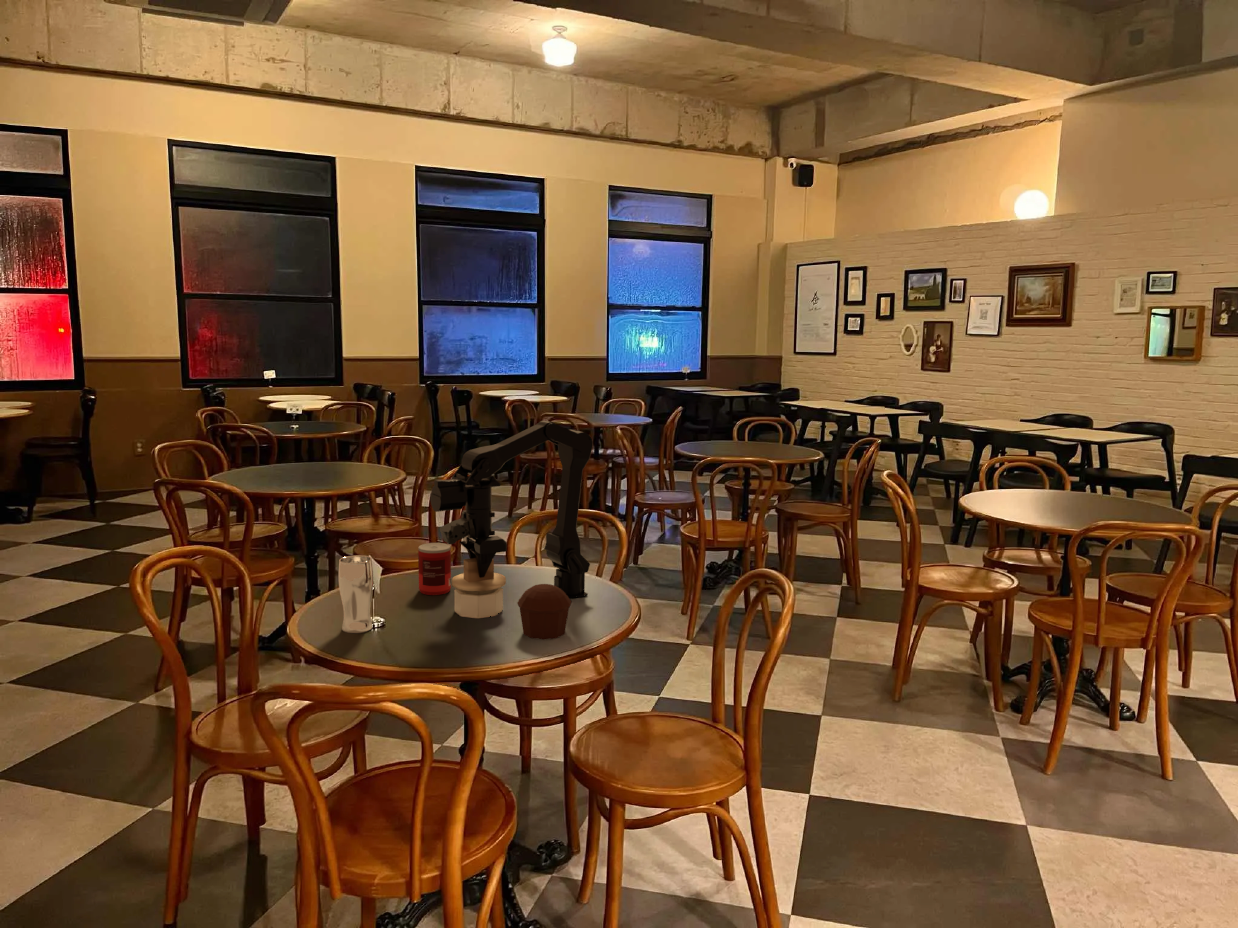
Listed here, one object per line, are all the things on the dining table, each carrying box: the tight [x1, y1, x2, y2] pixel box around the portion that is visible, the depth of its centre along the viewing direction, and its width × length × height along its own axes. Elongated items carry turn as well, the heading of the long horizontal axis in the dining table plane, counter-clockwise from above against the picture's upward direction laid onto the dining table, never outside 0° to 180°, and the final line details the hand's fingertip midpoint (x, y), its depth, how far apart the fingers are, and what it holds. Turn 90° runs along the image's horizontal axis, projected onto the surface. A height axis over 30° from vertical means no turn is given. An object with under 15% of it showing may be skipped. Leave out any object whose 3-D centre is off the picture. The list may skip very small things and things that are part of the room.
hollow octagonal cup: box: [454, 587, 504, 619], centre depth 198 cm, size 10×10×5 cm
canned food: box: [417, 542, 452, 596], centre depth 212 cm, size 8×8×11 cm
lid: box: [451, 558, 507, 591], centre depth 197 cm, size 12×12×6 cm
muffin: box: [516, 583, 572, 640], centre depth 184 cm, size 12×11×10 cm
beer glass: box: [338, 554, 374, 634], centre depth 184 cm, size 7×7×15 cm
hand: (479, 575), depth 197 cm, fingers closed on lid, 3 cm apart
